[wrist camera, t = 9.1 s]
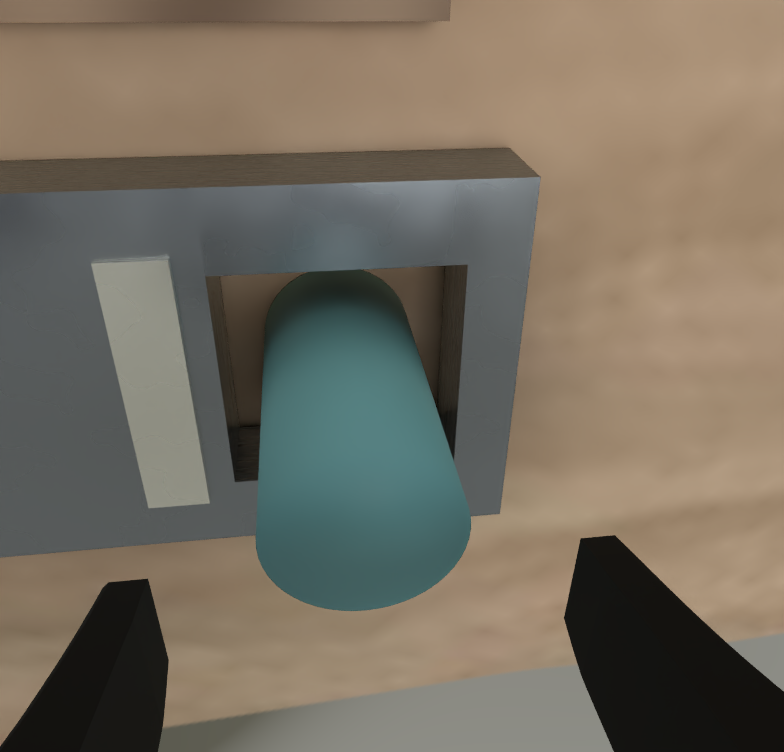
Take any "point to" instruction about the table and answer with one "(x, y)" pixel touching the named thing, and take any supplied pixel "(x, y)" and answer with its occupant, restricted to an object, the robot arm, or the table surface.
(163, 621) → the table surface
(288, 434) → the peg
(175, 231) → the plate
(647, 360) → the table surface
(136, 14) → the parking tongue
